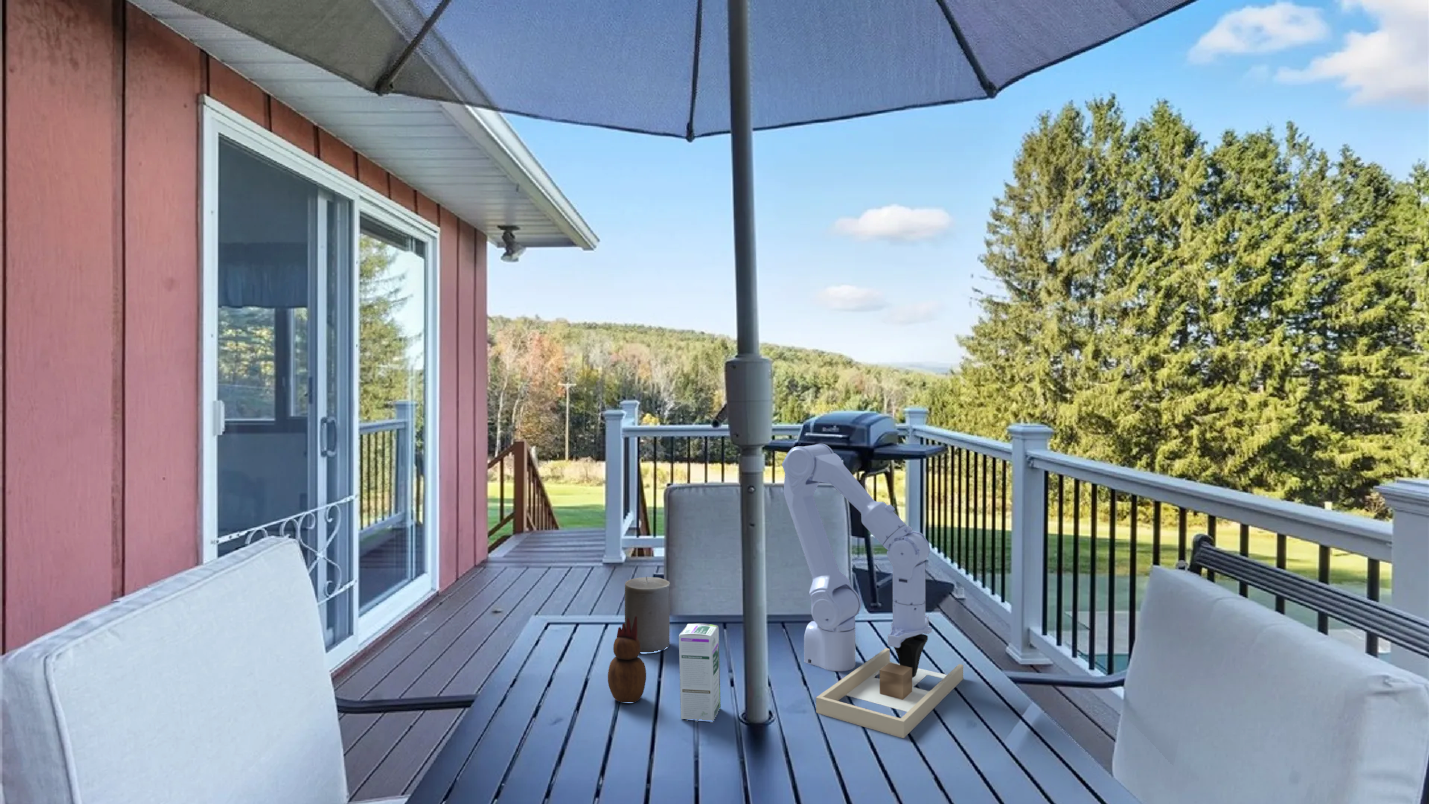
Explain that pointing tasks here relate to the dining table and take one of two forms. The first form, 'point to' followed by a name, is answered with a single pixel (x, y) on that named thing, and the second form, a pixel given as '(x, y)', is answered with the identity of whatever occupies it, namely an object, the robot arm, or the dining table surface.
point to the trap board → (884, 697)
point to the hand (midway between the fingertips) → (909, 675)
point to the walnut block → (896, 680)
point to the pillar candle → (649, 611)
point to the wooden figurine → (627, 665)
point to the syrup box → (699, 671)
